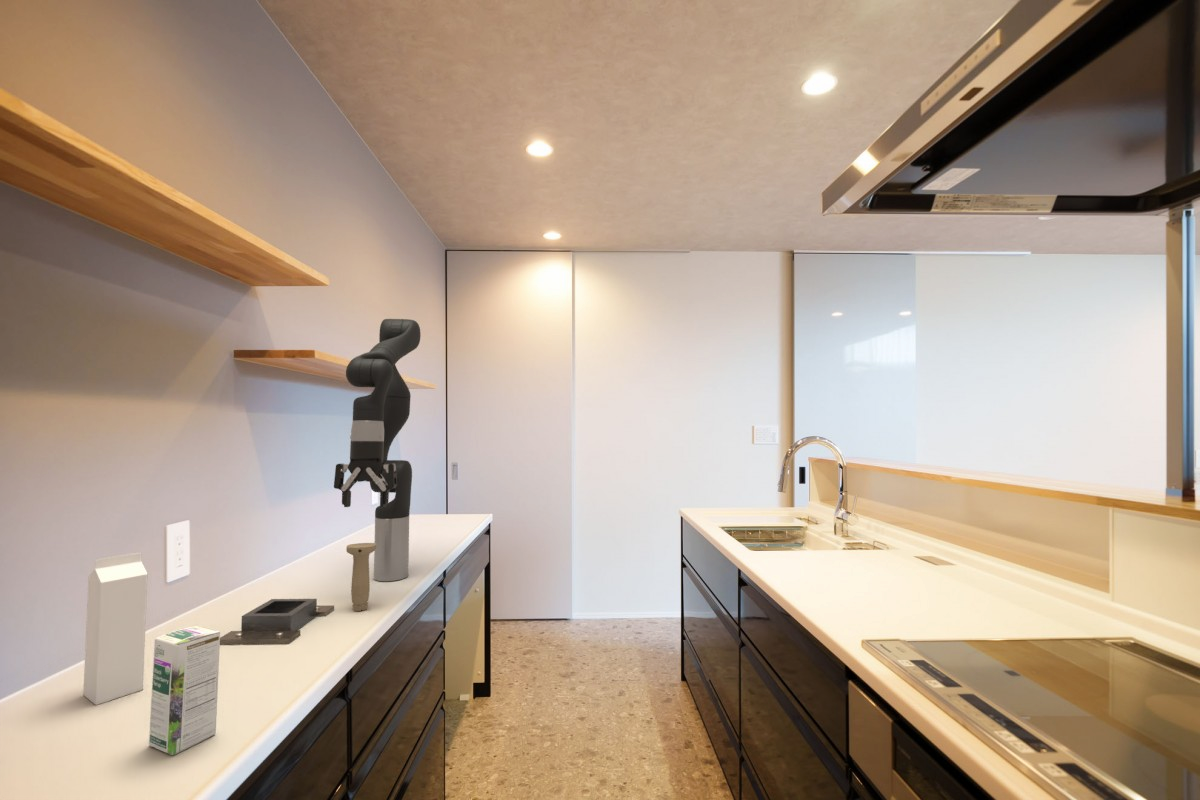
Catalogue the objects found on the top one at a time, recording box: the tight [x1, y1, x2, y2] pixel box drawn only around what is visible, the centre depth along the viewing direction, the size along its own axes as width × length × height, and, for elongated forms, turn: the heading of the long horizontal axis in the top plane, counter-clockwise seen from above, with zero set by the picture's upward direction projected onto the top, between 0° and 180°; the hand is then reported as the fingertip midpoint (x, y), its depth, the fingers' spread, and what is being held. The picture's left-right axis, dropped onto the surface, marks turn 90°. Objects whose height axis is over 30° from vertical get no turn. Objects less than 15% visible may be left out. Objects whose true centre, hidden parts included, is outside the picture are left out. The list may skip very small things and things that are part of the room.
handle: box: [346, 542, 376, 612], centre depth 129 cm, size 5×6×15 cm
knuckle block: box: [220, 598, 335, 646], centre depth 118 cm, size 20×14×4 cm
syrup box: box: [148, 625, 221, 756], centre depth 76 cm, size 6×6×14 cm
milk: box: [82, 552, 148, 706], centre depth 89 cm, size 6×6×22 cm
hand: (365, 506), depth 132 cm, fingers open, 8 cm apart
